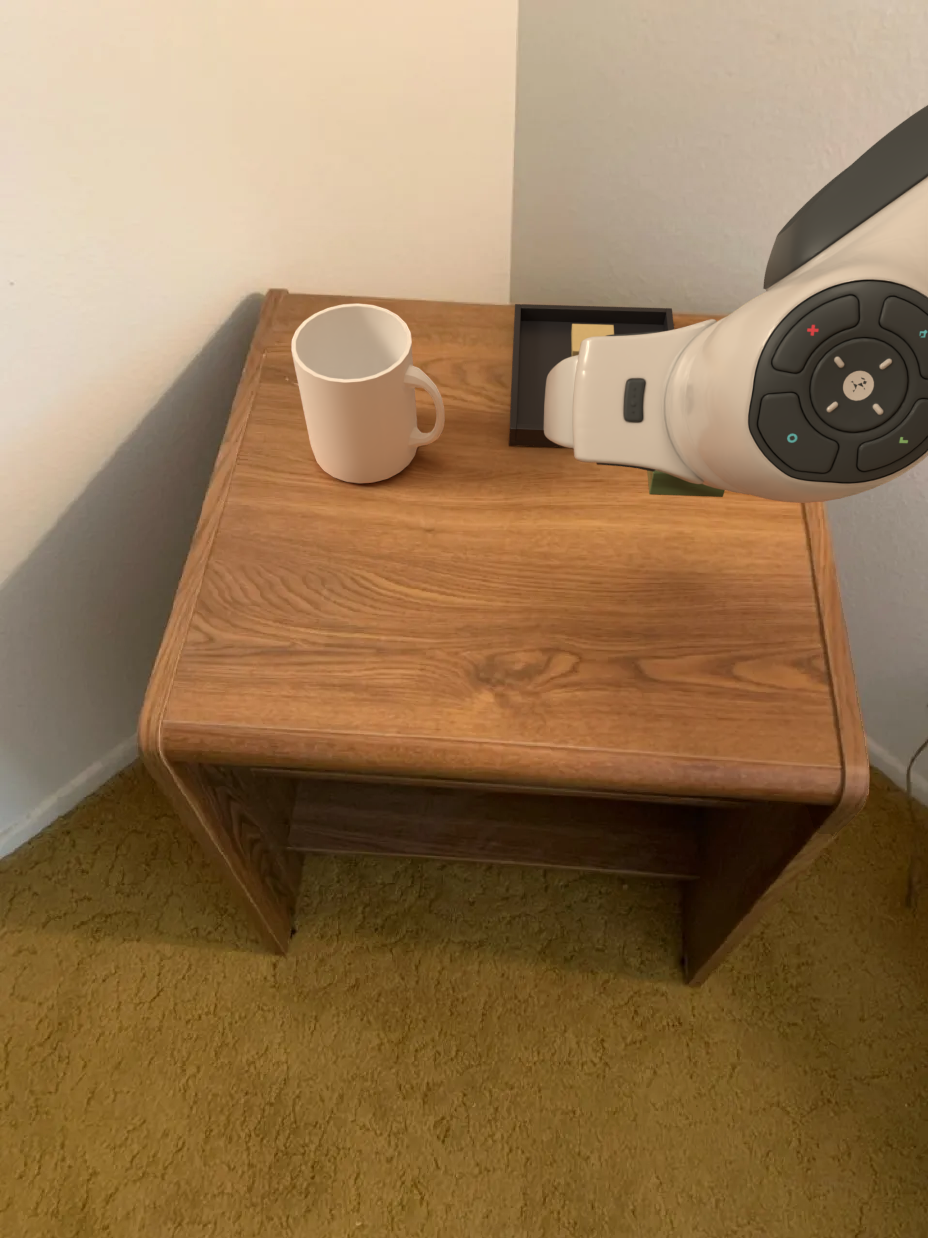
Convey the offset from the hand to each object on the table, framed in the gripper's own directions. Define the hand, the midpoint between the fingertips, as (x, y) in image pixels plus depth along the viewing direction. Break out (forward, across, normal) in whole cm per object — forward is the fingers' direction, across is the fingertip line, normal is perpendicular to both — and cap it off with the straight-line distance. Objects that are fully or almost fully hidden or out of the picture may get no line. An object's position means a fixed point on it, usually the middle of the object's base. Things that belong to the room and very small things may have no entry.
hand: (694, 414), depth 61 cm
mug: (+20, +24, +3) cm, 31 cm away
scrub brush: (+2, 0, +4) cm, 5 cm away
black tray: (+27, +5, -4) cm, 27 cm away
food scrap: (+29, +5, -7) cm, 31 cm away
